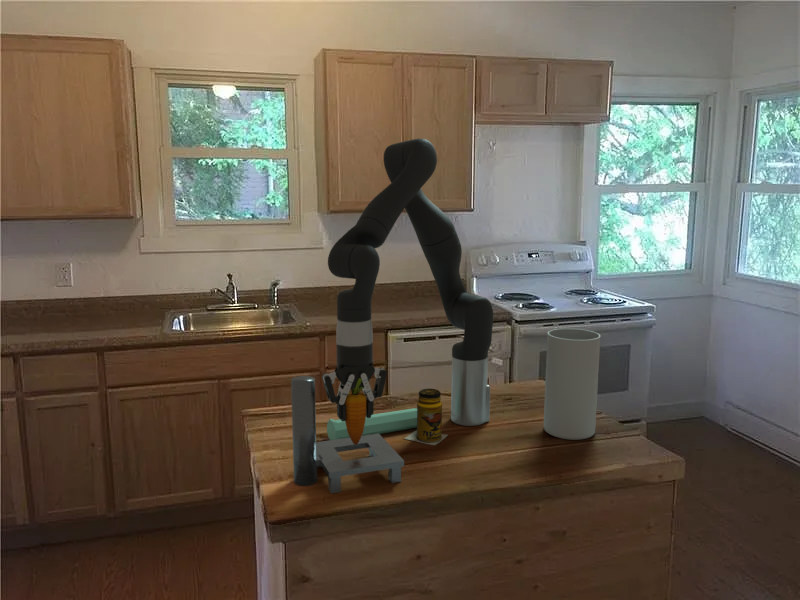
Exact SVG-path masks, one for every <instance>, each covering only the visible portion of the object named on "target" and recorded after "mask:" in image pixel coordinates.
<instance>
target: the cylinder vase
mask: <svg viewBox="0 0 800 600" xmlns="http://www.w3.org/2000/svg"><path fill="white" fill-rule="evenodd" d="M600 352H601V334H600V333H598V332H595V331H592V330H587V329H581V328H556V329H551V330H548V331H547V339H546V362H545V364H546V365H545V385H544V386H545V387H544V388H545V389H544V411H543V430H544V431H545V432H546V433H547V434H549V435H551V436H553V437H555V438H558V439H563V440H569V441H570V440H571V441H572V440H573V441H579V440H587V439H589V438H591V437H593V436H594V435H595V432H596V423H597V422H596V420H597V419H596V418H597V403H598V401H597V400H598V390H599V389H598V387H599V386H598V385H599V370H600V369H599V368H600V367H599V366H600V354H601V353H600Z"/></svg>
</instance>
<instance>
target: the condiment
mask: <svg viewBox="0 0 800 600" xmlns="http://www.w3.org/2000/svg"><path fill="white" fill-rule="evenodd" d="M441 398H442V397H441V391H440V390H439V389H436V388H423V389H420V390H419V391H418V401H417V403H416V408H417V428H416V429H415V431H412V432H411V434H408V435H407V436H406V437H404V438H403V439H405V440H409V441H414V442H417V443H422V444H426V445H431V446H437V445H438V444H439V443H440V442H442V441H443V440H444V439H446V438H447V437H448V435H449V434H445V433H443V431H442V429H443V414H442V413H443V403H442V401H441V400H442V399H441Z"/></svg>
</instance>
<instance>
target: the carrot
mask: <svg viewBox="0 0 800 600" xmlns="http://www.w3.org/2000/svg"><path fill="white" fill-rule="evenodd" d="M361 382H362V380H361V378H359V379H358V381H357V384H356V387H355V388H354V389H350V392H349V394H348V395H347V397H346V400H345V403H344V404H345V405H346V421H345V422H346V427H347V431H348V434H349V436H350V438H351V440H352V442H353V443H354V444H355V445H357V444H358V442H359V440H360V438H361V436H362V433H363V430H364V425H365V419H366V402H367V398H366V395H365V394H364V392H363V393H362V391H363V387H360V388H359V386H360V384H361Z"/></svg>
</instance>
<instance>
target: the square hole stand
mask: <svg viewBox="0 0 800 600" xmlns="http://www.w3.org/2000/svg"><path fill="white" fill-rule="evenodd" d="M290 390H291V392H290V393H291V394H290V395H291V396H290V397H291V421H292V422H291V423H292V458H293V460H292V462H293V483H294V484H295V485H297V486H298V487H299V486H300V487H308V486H312V485H314V484H316V483H317V481H318V468H322V469H323V471H324V473H325V474H326V476H327V477H328V478H327V480H328V481H327V482H328V491H329V492H330V494H332V495H333V494H336V493H341V491H342V487H341V486H342V485H341V482H342V481H341V479H342V478H341V477H343V476H344V477H346V476H353V475H357V474H363V473H369V472H375V471H382V470H388V480H389V482H390V483H391V484H395V483H401V482H402V467H405V460H404V459H403V458H402V457H401V456H400V454H398V452H397V451H396V450H395V449H394V448H393V447H392V446H391V445H390V444H389V443H388V442H387V440H386V439H385V438H384V437H383V436H382V434H371V435H364V436H361V438H360V440H359V442H358V444H357V445H355V444H354V443H353V442H352V440H351V438H343V439H336V440H329V439H328V440H324V441H323V440H322V441H317V422H316V419H317V417H316V415H317V414H316V413H317V411H316V378H315V377H313V376H310V375H298V376H294V377H292V378H291V380H290ZM362 449H367V450H368V452H369V453H368V456H369V457H362V458H355V459H349V460H343V458H342V457H341V456H340V454H339V453H341V452H347V451H353V450H354V451H355V450H362Z"/></svg>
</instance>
